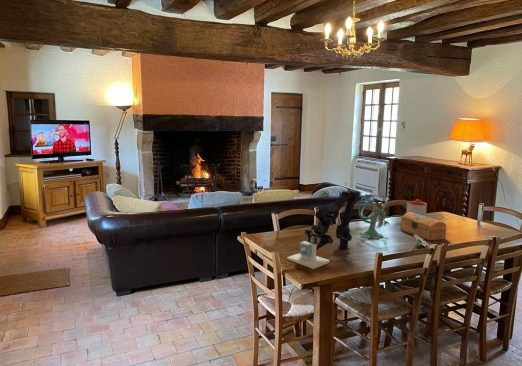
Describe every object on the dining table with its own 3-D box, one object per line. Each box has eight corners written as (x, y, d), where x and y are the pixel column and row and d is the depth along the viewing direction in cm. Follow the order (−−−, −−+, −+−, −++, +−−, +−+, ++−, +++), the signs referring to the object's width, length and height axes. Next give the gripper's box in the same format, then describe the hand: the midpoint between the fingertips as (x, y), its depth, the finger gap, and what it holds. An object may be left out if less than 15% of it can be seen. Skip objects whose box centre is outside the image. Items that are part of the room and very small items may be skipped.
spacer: (301, 253, 238) (302, 242, 237) (310, 256, 233) (311, 245, 232) (299, 254, 237) (300, 242, 236) (308, 257, 232) (309, 245, 231)
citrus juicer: (409, 218, 343) (411, 196, 340) (428, 223, 330) (431, 199, 327) (399, 221, 333) (401, 198, 330) (419, 226, 320) (421, 202, 317)
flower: (403, 244, 254) (416, 229, 277) (398, 250, 256) (411, 234, 280) (421, 258, 249) (432, 241, 272) (415, 264, 252) (427, 247, 275)
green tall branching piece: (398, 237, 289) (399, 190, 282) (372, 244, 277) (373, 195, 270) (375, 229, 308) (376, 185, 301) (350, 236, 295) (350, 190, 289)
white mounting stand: (303, 253, 250) (304, 237, 248) (329, 262, 236) (330, 244, 234) (287, 259, 240) (287, 241, 238) (313, 268, 225) (314, 250, 224)
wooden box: (398, 230, 309) (400, 212, 306) (415, 228, 315) (417, 211, 312) (428, 241, 281) (429, 222, 279) (445, 239, 287) (447, 220, 285)
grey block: (312, 254, 243) (313, 236, 241) (316, 256, 240) (317, 237, 238) (300, 259, 235) (301, 240, 233) (304, 260, 233) (305, 241, 231)
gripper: (306, 216, 246) (294, 237, 240) (331, 222, 233) (318, 244, 227) (314, 226, 253) (302, 246, 247) (338, 233, 240) (326, 254, 234)
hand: (311, 248), depth 239 cm, fingers open, 6 cm apart
